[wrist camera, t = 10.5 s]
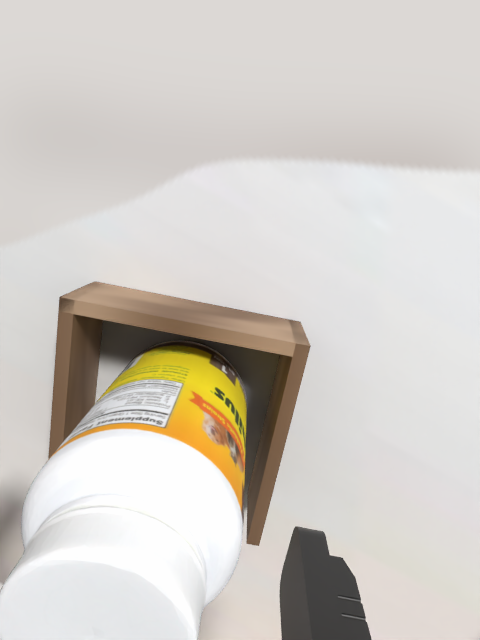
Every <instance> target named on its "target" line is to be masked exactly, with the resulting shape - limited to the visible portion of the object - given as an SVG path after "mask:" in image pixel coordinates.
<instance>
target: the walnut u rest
mask: <svg viewBox="0 0 480 640" xmlns="http://www.w3.org/2000/svg"><path fill="white" fill-rule="evenodd" d="M103 320H107V321H112V322H117V323H122V324H127V325H132V326H137V327H142V328H148V329H153V330H158V331H163V332H168V333H173V334H178V335H184V336H189V337H194V338H199V339H204V340H209V341H214V342H219V343H225V344H230V345H235V346H240V347H245V348H250V349H255V350H261V351H266V352H271V353H276V354H280V358H279V362H278V366H277V370H276V374H275V379H274V383H273V387H272V391H271V396H270V400H269V404H268V408H267V412H266V417H265V421H264V425H263V429H262V434H261V438H260V442H259V446H258V450H257V455H256V459H255V463H254V467H253V472H252V476H251V480H250V484H249V488H248V504H247V544H252V545H257V546H259V543H260V540H261V536H262V532H263V528H264V524H265V520H266V516H267V512H268V509H269V505H270V501H271V497H272V493H273V489H274V485H275V481H276V478H277V474H278V470H279V466H280V462H281V458H282V454H283V450H284V446H285V443H286V439H287V435H288V431H289V427H290V423H291V419H292V415H293V412H294V408H295V404H296V400H297V396H298V392H299V388H300V384H301V381H302V377H303V373H304V369H305V365H306V361H307V357H308V353H309V349H310V344H309V342H308V339H307V337H306V334H305V332H304V330H303V327H302V325H301V322H298V321H293V320H288V319H283V318H278V317H273V316H268V315H263V314H257V313H252V312H247V311H242V310H237V309H232V308H227V307H222V306H217V305H212V304H207V303H202V302H196V301H191V300H186V299H181V298H176V297H171V296H166V295H161V294H156V293H151V292H146V291H140V290H135V289H130V288H125V287H120V286H115V285H110V284H105V283H100V282H92V283H90V284H88V285H86V286H83V287H81V288H79V289H77V290H74V291H72V292H70V293H68V294H65V295H63V296H61V297H60V299H59V314H58V328H57V343H56V357H55V372H54V387H53V401H52V416H51V430H50V445H49V459H50V457H51V456H52V455H53V454H54V453H55V452H56V450H57V449H58V448H59V447H60V445H61V444H62V443H63V442H64V440H65V439H66V438H67V437H68V436H69V435H70V434H71V432H72V431H73V430H74V429H75V428H76V426H77V425H78V424H79V423H80V422H81V420H82V419H83V418H84V417H85V416H86V414H87V413H88V412H89V411H90V409H91V408H92V407H93V406H94V405H95V395H96V386H97V376H98V366H99V356H100V346H101V336H102V326H103Z"/></svg>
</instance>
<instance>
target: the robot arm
mask: <svg viewBox="0 0 480 640" xmlns="http://www.w3.org/2000/svg"><path fill="white" fill-rule="evenodd" d="M280 612H281V631H282V640H371V636H370V632H369V628H368V625H367V622H366V621H365V618H366V617H365V613H364V609H363V606H362V603H361V598H360V594H359V590H358V587H357V583H356V579H355V577H354V575H353V574H352V572H351V570H350V569H349V567H348V566H347V564H346V563H345V561H344V560H343V558H340V557H335V556H330V555H329V551H328V546H327V541H326V537H325V534H324V532H323V531H317V530H312V529H307V528H302V527H297V526H296V527H295V528H294V530H293V534H292V537H291V541H290V544H289V548H288V552H287V555H286V559H285V562H284V566H283V570H282V575H281V582H280Z"/></svg>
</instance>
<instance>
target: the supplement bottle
mask: <svg viewBox="0 0 480 640" xmlns="http://www.w3.org/2000/svg"><path fill="white" fill-rule="evenodd" d="M246 418H247V402H246V393H245V389H244V386H243V383H242V380H241V378H240V376H239V374H238V373H237V371H236V370H235V368H234V367H233V366H232V364H231V363H230V362H229V361H228V360H227V359H226V358H225V357H224V356H222V355H221V354H220V353H219V352H217V351H215V350H214V349H212V348H210V347H208V346H205V345H202V344H199V343H196V342H191V341H179V340H177V341H168V342H163V343H160V344H157V345H154V346H151V347H150V348H148V349H146V350H144V351H143V352H141V353H140V354H139V355H137V356H136V357H135V358H134V359H133V360H132V361H131V362H130V363H129V364H128V365H127V367H126V368H125V369H124V370H123V371H122V373H121V374H120V375H119V376H118V377H117V378H116V379H115V380H114V382H113V383H112V384H111V386H110V387H109V388H108V389H107V390H106V392H105V393H104V394H103V395H102V396H101V397H100V399H99V400H98V401H97V402H96V403H95V405H94V406H93V407H92V408H91V409H90V411H89V412H88V413H87V414H86V416H85V417H84V418H83V419H82V420H81V422H80V423H79V424H78V425H77V426H76V428H75V429H74V430H73V431H72V432H71V434H70V435H69V436H68V437H67V438H66V439H65V440H64V442H63V443H62V444H61V445H60V447H59V448H58V449H57V450H56V452H55V453H54V454H53V455H52V456H51V457H50V459H49V460H48V461H47V462H46V464H45V465H44V466H43V468H42V469H41V470H40V472H39V473H38V474H37V476H36V477H35V479H34V481H33V482H32V484H31V486H30V488H29V491H28V493H27V496H26V498H25V501H24V505H23V510H22V518H21V532H22V540H23V545H24V549H25V550H24V553H23V555H22V557H21V558H20V560H19V561H18V563H17V564H16V566H15V567H14V569H13V570H12V572H11V573H10V575H9V576H8V578H7V580H6V581H5V583H4V585H3V586H2V588H1V591H0V640H198V635H199V627H200V620H201V614H202V612H203V609H204V607H205V606H206V605H208V604H209V603H210V602H211V601H212V600H213V599H214V598H215V597H216V596H217V595H218V594H219V593H220V592H221V591H222V590H223V589H224V587H225V586H226V584H227V583H228V581H229V580H230V578H231V576H232V574H233V572H234V570H235V568H236V565H237V562H238V559H239V555H240V551H241V544H242V532H243V521H244V515H243V509H244V482H245V447H246Z"/></svg>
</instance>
